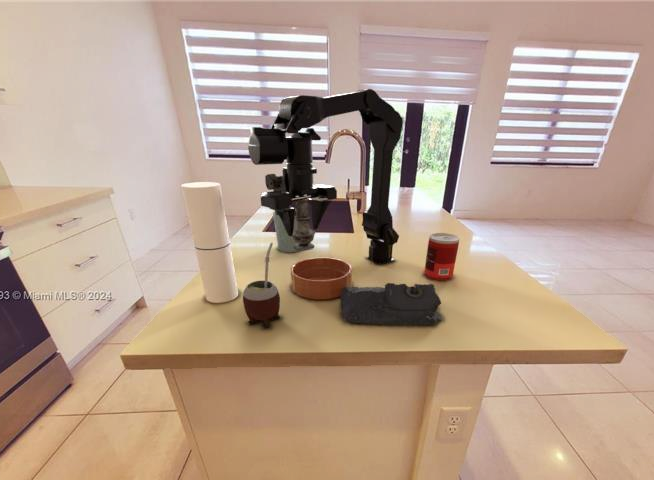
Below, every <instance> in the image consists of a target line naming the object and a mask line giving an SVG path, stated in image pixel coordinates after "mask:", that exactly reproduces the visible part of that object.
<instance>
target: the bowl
mask: <svg viewBox="0 0 654 480" xmlns="http://www.w3.org/2000/svg"><path fill="white" fill-rule="evenodd" d="M289 270H290V280H291V290H292V291H293V293H294V294H296V295H298V296H299V297H303V298H305V299H310V300H330V299H335V298H338V297H339V298H340V297H341V292H342V290H343V288H344V287H353V286H352V285H353V267H352V265H351V264H349V262H347V261H345V260H342V259H339V258H334V257H310V258H304V259H302V260H298V261H297V262H295V263H293V264H292V265H291V267H290V269H289Z"/></svg>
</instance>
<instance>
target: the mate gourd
mask: <svg viewBox="0 0 654 480" xmlns="http://www.w3.org/2000/svg"><path fill="white" fill-rule="evenodd" d="M273 245H274V243H273V242H270V243H269V246H268V249H267V252H266V256H265V257H264V258H265V260H264V262H265V266H264V268H265V270H264V280H255V281H252V282H250V283H248V284H247V285H246V286H245V288H244V289H243V292H242V302H243V307H244V308H243V309H244V312H245V315H246V316H247V318H248V321H247V322H248V325H254V324H259V323H262V324H263V327H264V329H269V328H270V325H269V322H271V321H276V320H280V317H281V316H280V315H279V313H280V308H281V295H280V293H279V289H278V287H277V286H276V284H275V283H273V282H271V281H269V279H268V278H269V263H270V255H271V251H272V248H273Z"/></svg>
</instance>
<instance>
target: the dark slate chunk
mask: <svg viewBox="0 0 654 480" xmlns="http://www.w3.org/2000/svg"><path fill="white" fill-rule="evenodd" d="M436 290H437V289H436V287H435V285H434V284H433V283H428V284H427V283H426V284H425V283H424V284H422V283H419V284H418V283H415V284H414V286H408V285H407V283H400V284H397V283H395V282H394V283H393V282H387V283H386V284H385V285H384V287H383V286H382V287H380V286H363V287H362V286H361V287H359V286H351V287H344V288H343V290H342V292H341V296H339V301H340V303H339V307H340V315H341V317H342V318H343V319H344V322H346V323H354V324H358V325H376V326H419V327H420V326H421V327H422V326H434V325H436V324H437V323H438V322H442V319H443V318H442V316H441V314H439V312H438V308H439V307H440V305H441V304H442V300H441V298H440V296H439V295H438V293H437V292H436Z"/></svg>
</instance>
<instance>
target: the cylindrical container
mask: <svg viewBox="0 0 654 480" xmlns="http://www.w3.org/2000/svg"><path fill="white" fill-rule="evenodd" d="M180 187H181V192H182V196H183V201H184V205H185V209H186V210H185V211H186V215H187V219H188V224H189V227H190V228H189V229H190V232H191V236H192V241H193V245H194V251H195V254H196V259H197V263H198V269H199V272H200V277H201V282H202V286H203V292H204V296H205V299H206V301H207V302H210V303H212V304H213V303H214V304H221V303H226V302H227V303H228V302H230V301H232V300H234V299H237V297H238V296H239V290H238V289H239V288H238V283H237V278H236V277H237V276H236V270H235V265H234V260H233V253H232V247H231V242H230V241H231V240H230V236H229V229H228V223H227V217H226V211H225V205H224V198H223V192H222V187H221V183H220V182H213V181H197V182H187V183H182V184H181V185H180Z"/></svg>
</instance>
